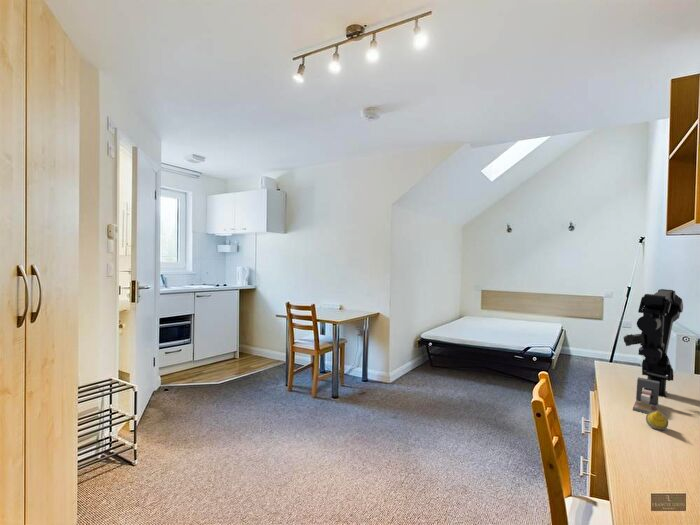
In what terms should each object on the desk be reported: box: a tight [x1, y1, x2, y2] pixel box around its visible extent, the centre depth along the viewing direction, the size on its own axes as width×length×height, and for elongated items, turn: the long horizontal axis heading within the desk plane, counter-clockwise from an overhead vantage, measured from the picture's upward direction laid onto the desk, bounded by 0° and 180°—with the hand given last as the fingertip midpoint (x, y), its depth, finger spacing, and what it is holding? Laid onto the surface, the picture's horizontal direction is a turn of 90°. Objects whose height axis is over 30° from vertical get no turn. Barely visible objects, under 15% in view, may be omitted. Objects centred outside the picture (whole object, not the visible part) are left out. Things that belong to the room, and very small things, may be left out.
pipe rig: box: [632, 388, 659, 415], centre depth 134 cm, size 14×6×5 cm, turn 138°
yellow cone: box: [645, 410, 669, 431], centre depth 117 cm, size 5×5×10 cm
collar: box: [635, 377, 660, 405], centre depth 136 cm, size 3×6×7 cm, turn 48°
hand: (650, 371), depth 140 cm, fingers closed
